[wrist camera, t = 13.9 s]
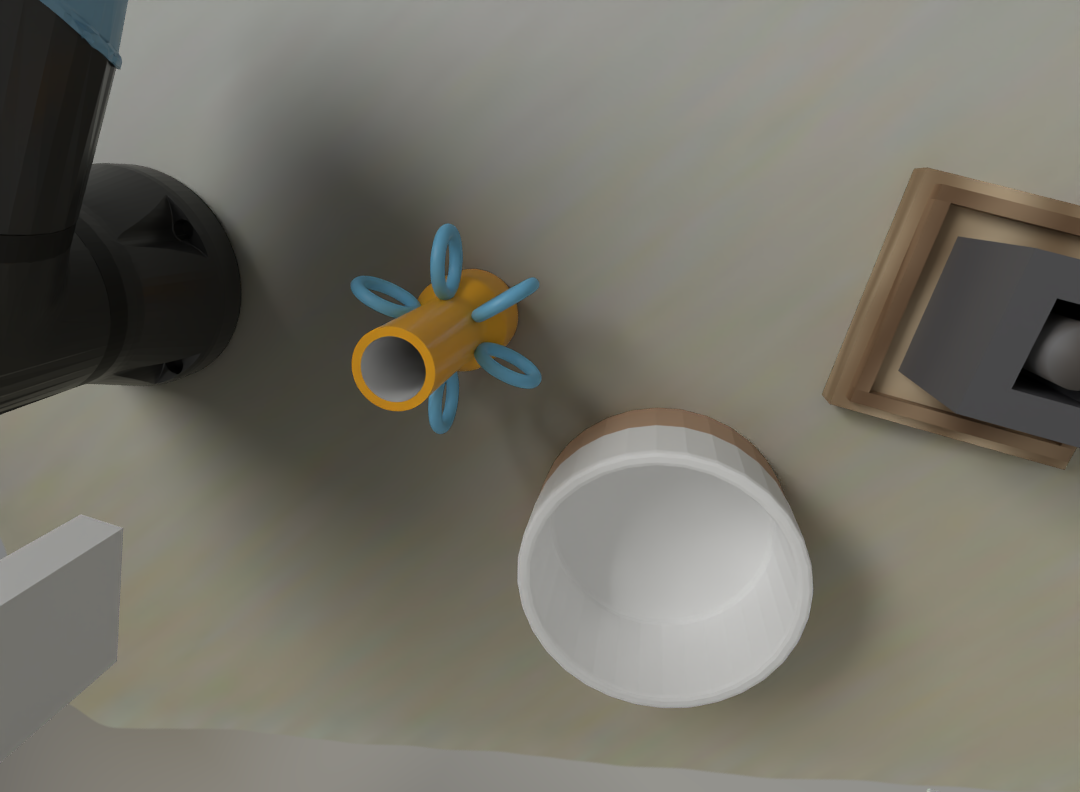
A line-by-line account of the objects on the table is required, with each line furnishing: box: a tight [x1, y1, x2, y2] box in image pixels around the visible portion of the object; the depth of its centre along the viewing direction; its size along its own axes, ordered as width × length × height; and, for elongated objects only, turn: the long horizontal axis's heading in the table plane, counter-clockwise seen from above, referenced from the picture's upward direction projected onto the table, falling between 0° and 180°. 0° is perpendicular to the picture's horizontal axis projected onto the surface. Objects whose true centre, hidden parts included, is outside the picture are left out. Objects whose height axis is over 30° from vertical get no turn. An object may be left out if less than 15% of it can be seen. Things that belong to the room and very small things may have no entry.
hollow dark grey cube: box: [898, 236, 1080, 448], centre depth 34 cm, size 8×8×8 cm
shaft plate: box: [822, 168, 1080, 470], centre depth 35 cm, size 14×14×10 cm
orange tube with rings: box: [351, 224, 542, 434], centre depth 38 cm, size 12×10×15 cm
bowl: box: [517, 408, 814, 708], centre depth 43 cm, size 17×17×8 cm
